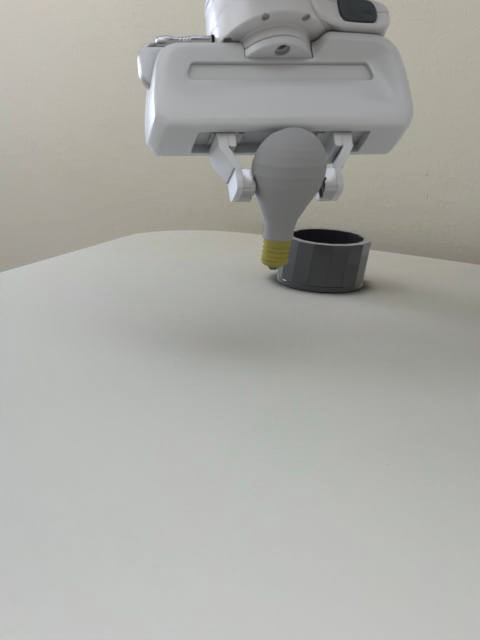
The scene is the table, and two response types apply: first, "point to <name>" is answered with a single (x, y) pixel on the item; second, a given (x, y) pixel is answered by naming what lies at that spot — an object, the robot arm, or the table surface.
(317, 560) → the table surface
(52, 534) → the table surface
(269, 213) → the light bulb
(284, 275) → the socket
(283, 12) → the robot arm
